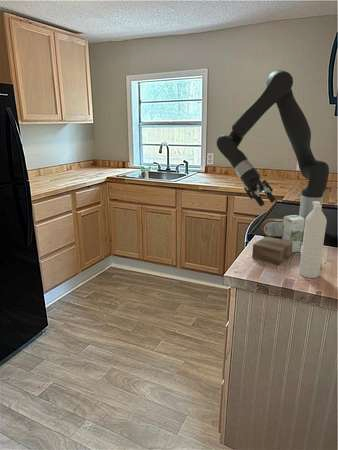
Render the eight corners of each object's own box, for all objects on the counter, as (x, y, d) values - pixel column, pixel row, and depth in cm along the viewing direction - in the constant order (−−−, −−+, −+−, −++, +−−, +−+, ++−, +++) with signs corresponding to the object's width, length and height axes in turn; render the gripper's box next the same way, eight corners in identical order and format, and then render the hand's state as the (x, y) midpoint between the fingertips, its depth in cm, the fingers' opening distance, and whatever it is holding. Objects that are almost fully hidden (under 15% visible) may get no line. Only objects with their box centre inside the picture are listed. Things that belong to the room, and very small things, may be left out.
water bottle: (319, 279, 110) (330, 208, 102) (299, 277, 112) (308, 207, 103) (317, 268, 118) (326, 201, 109) (298, 266, 119) (305, 200, 111)
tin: (293, 235, 149) (295, 218, 147) (295, 238, 146) (297, 220, 144) (260, 235, 151) (261, 217, 148) (261, 237, 148) (262, 219, 145)
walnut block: (265, 249, 135) (266, 236, 133) (291, 256, 128) (292, 242, 126) (252, 258, 127) (253, 244, 126) (278, 266, 120) (280, 251, 118)
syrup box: (291, 246, 137) (295, 214, 132) (300, 252, 131) (305, 218, 126) (280, 248, 135) (283, 215, 130) (288, 254, 130) (292, 219, 125)
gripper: (242, 169, 133) (265, 201, 128) (262, 165, 142) (283, 195, 137) (231, 180, 138) (252, 211, 134) (250, 176, 147) (271, 205, 143)
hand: (268, 203), depth 136 cm, fingers open, 8 cm apart
